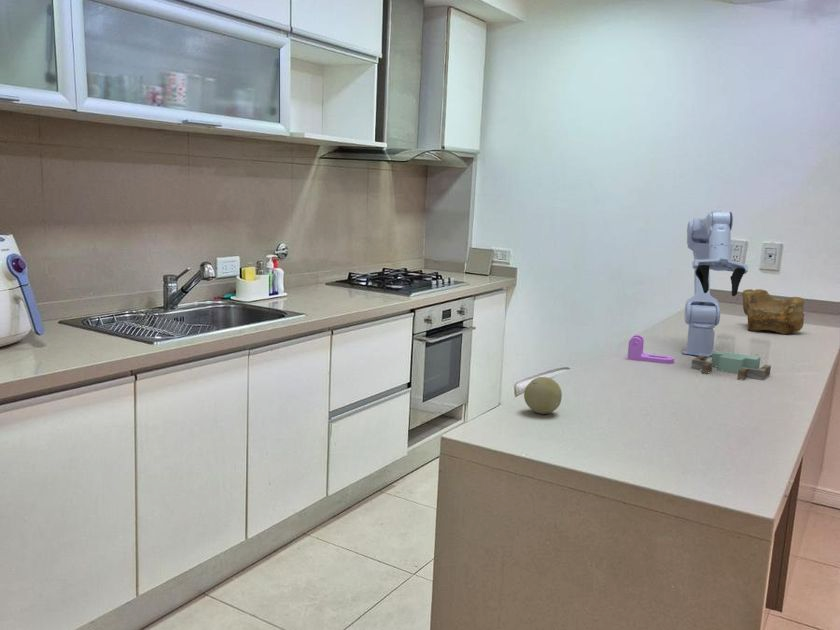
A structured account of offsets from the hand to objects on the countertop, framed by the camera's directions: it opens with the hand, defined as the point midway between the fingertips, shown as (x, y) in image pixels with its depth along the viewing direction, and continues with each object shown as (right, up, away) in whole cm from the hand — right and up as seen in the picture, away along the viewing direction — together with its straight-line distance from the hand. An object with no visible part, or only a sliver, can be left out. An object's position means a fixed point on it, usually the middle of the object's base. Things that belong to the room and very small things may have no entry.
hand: (720, 293), depth 196 cm
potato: (-56, -28, -39) cm, 74 cm away
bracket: (-14, -20, +17) cm, 30 cm away
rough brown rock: (+48, -12, +74) cm, 89 cm away
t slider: (+7, -22, +8) cm, 24 cm away
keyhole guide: (+4, -22, +4) cm, 23 cm away
